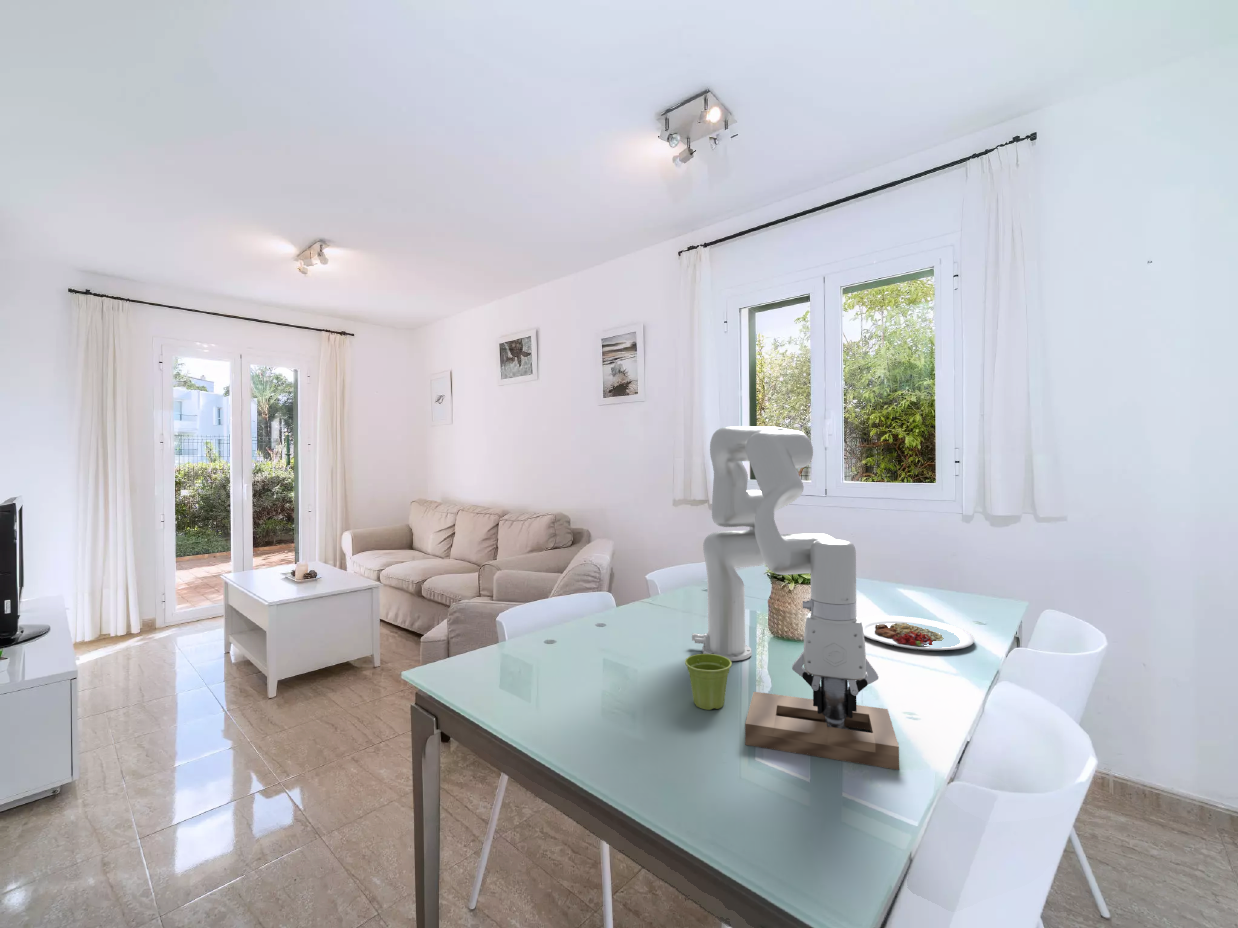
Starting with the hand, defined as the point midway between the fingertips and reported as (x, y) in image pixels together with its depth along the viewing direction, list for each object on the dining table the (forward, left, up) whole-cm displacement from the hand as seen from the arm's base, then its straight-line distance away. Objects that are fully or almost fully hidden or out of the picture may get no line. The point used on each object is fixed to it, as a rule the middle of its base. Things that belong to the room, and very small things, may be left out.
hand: (834, 711), depth 95 cm
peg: (0, 0, -5) cm, 5 cm away
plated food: (+22, +68, -5) cm, 72 cm away
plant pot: (-24, +7, -5) cm, 25 cm away
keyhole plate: (-3, 0, -5) cm, 6 cm away
